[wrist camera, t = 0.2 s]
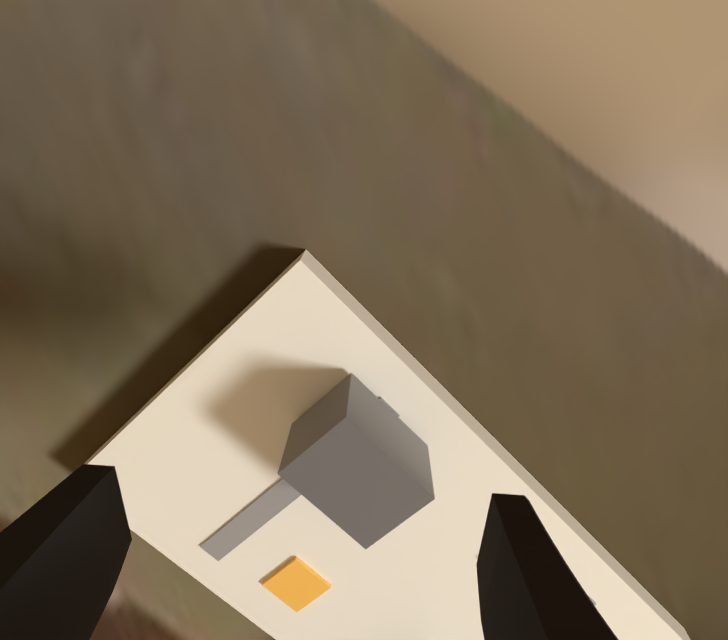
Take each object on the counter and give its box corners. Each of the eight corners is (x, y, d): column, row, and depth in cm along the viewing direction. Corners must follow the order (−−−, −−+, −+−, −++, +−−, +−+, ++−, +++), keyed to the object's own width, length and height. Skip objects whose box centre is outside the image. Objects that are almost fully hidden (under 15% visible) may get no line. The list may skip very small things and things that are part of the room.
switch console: (462, 752, 29) (467, 789, 27) (87, 459, 23) (65, 485, 22) (683, 627, 26) (703, 661, 24) (306, 249, 20) (299, 261, 18)
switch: (367, 491, 21) (365, 549, 18) (291, 423, 20) (277, 474, 18) (427, 445, 20) (434, 498, 18) (351, 372, 20) (346, 416, 17)
